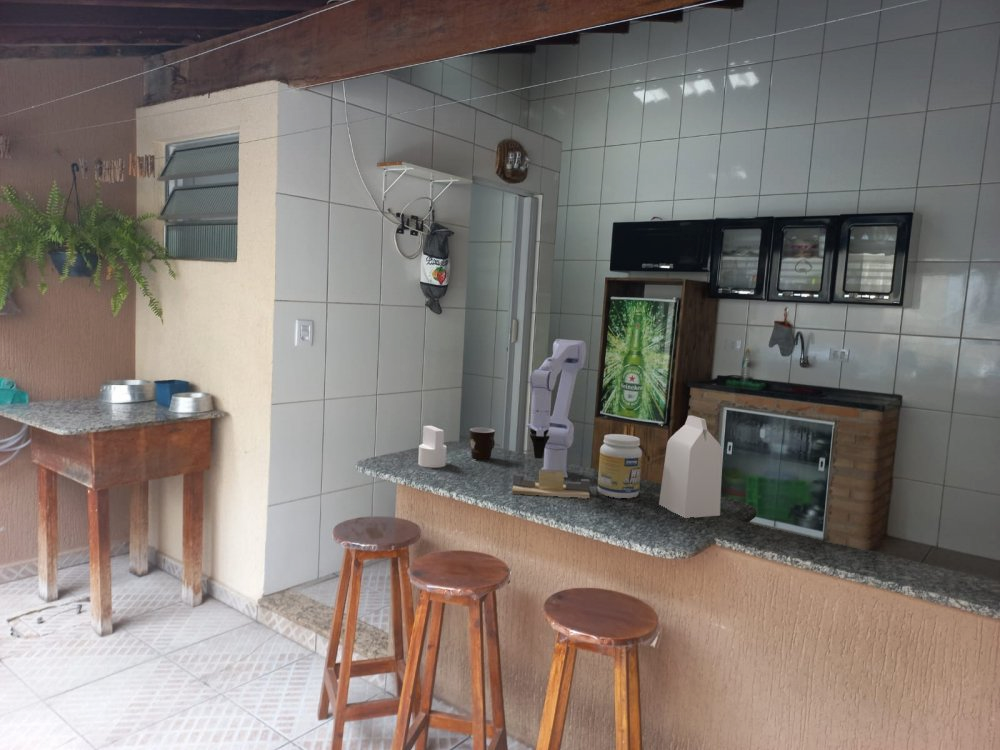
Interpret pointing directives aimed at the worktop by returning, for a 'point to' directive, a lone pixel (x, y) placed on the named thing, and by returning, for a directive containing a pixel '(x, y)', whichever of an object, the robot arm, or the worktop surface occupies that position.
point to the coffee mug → (481, 443)
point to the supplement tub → (620, 466)
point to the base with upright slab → (432, 448)
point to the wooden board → (549, 492)
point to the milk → (692, 471)
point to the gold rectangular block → (551, 479)
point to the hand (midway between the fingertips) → (538, 455)
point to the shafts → (577, 486)
